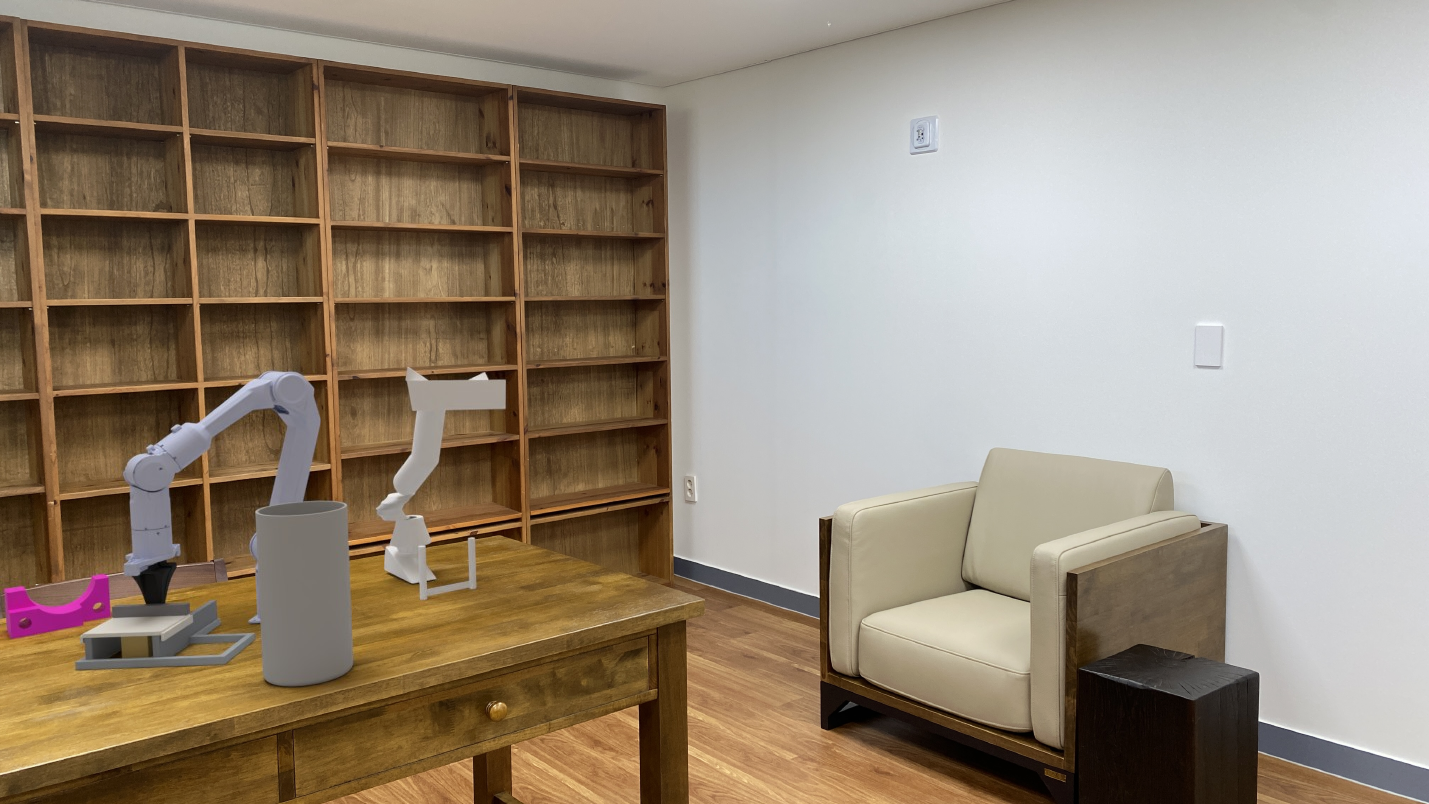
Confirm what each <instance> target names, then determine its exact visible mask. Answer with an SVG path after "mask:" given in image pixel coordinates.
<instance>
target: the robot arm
mask: <svg viewBox="0 0 1429 804" xmlns="http://www.w3.org/2000/svg"><path fill="white" fill-rule="evenodd" d="M314 395H315V388H314V386H313V385H312V384H311V383H310V382H309V381H308V379H307V378H306V377H305V376H304V375H303V374H301V373H299V372H296V371H278V370H268V371H265V372H263V373H262V374H260V376H258V377H257V378H255V379H252V380H250V381H248V382H247V383H246V384H245V385H244V386H242V387H241V388H239V390H237V391H236V392H235V393H234V394H233V395H231V396H230V397H229V398H227V400H225V401H224V402H223V403H221V404H220V405H219V406H218V407H216V408H215V409H213V410H212V411H211V412H210V413H209V414H207V415H206V416H205V417H204V418H202V419H201V420H200V421H199V422H196V423H193V422H185V423H183V424H182V425H180V424H175V425H174V426H172V427H171V428H170V431H172V432H171V433H169V434H168V435H166V436H165V437H163V439H161V440H160V441H159V442H157V443H155V444H154V445H153V444H149V445H148V446H147V447H145V450H146V451H147V453H139V454H137V455H135V456H133V457H132V458H131V459H129V460H128V462H127V463H126V464H127V465H125V468H124V471H123V472H122V476H123V478H124V480H125V482H126V483H127V484H128V485H129V497H130V498H129V509H130V512H129V513H130V529H131V547H132V549H131V550H132V552H131V553H128V554H126V555H125V560H127V562H126V563H123V576H124V577H131V578H132V579H133V580H134V581H135V583H136V584H137V586H138V588H139V589H140V593H141V595H142V597H143V599H144V604H162V603H166V601H167V594H168V591H169V586H170V583H171V581H172V577H173V575H174V573H175V571H176V569H177V567H178V563H177V562H176V561H174V562H173V561H169V562H168V560H171V559H173V558H174V557H179V556H181V544H180V543H174V544H173V533H172V531H173V529H172V526H173V525H172V512H171V511H172V510H171V497H170V486H171V484H172V483H173V480H174V477H175V474H178V473H180V472H181V471H182V470H183V469H185V468H186V467H187V466H189V465H190V464H191V463H193V462H194V461H196V460H197V459H198V458H200V456H202V455H204V454H205V453H206V452H208V450H210V448H211V445H212V439H213V438H214V437H216V436H217V435H218V434H219V433H221V432H222V431H224V430H226V429H228V427H230V426H231V425H232V424H235V423H236V422H237V421H239V420H240V419H241V418H243V417H244V416H246V415H247V414H249V413H250V412H252V411H257V410H266V409H271V410H273V411H275V413H276V414H277V415H278V416H279V418H280V419H281V420H282V421H283V422H284V424H285V425H286V432H285V435H284V436H285V437H284V441H283V443H282V444H283V445H282V449H281V454H280V458H279V462H278V467H277V472H276V475H275V479H274V483H273V488H272V493H271V496H270V497H271V498H270V501H269V506H272V505H278V504H284V503H293V502H304V498H305V494H306V488H307V484H308V480H309V476H310V471H311V467H312V462H313V458H314V453H315V450H316V446H317V445H316V444H317V440H318V435H319V432H320V431H319V430H320V428H321V416H320V413H319V409H318V406H317V402H316V399H315V396H314ZM249 552H250V555H251V556H252V558H254V559H255V560H256V564H255V567H254V568H255V569H254V570H255V591H256V592H255V593H256V613H257V614H255V615H254V616H253V617H252V618H250V619H249V620H248V624H261V623H260V601H259V580H258V558H257V537H256V532H255V533H254V534H253V536H252V537H251V539H250V541H249Z"/></svg>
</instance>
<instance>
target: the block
mask: <svg viewBox="0 0 1429 804" xmlns="http://www.w3.org/2000/svg"><path fill="white" fill-rule="evenodd" d="M121 647H122V650H121V658H148V657H153V642H152V636H127V637H121Z"/></svg>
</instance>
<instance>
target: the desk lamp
mask: <svg viewBox="0 0 1429 804" xmlns="http://www.w3.org/2000/svg"><path fill="white" fill-rule="evenodd" d="M406 368H407V369H406V373H405V375H406V376H405V381H406V383H407V384H406V385H407V388H408V395H409V400H410V406H411V411H413V412H416V414H415V422H414V429H413V439H412V448H411V453H410V455H409V456H408V458H407V459H406V461H405V462H404V464H402V465H401V467H400V468H399V469H398V471H397V473H396V474H395V475H394V477H393V479H392V480H393V483H392V484H393V488H394V490H395V492H393V493H389V494H387V497H386V498H385V499H384V500H382V501H381V502H380V504H379V505H378V506H377V507H376V508H375V510H376V515H377V516H378V517H381V520H382V521H384V522H385V521H386V522H395V525H394V528H393V531H392V536H391V539H390V543H389V545H388V546H385V552H384V565H383V566H384V567H383V570H385V571H386V572H389V573H390V574H392V575H394V576H396V577H398V578H400V579H403V581H406V582H407V583H411V584H417V583H419V599H420V601H424V600H428V596H434V595H438V594H443V593H449V592H452V591H453V592H454V591H458V590H463V589H469V590H475V589H477V565H476V563H477V562H476V538H475V537H468V538H467V545H468V546H467V547H468V548H467V549H468V551H467V553H468V580H467V581H461V582H456V583H452V584H447V585H440V586H436V587H431V588H428V582H427V581H432V580H436V579H437V577H436V576H435V574H434V573H433V572H432V570H431V569H430V568H429V566H428V565H427V552H426V551H427V550H426V545H429V544H431V543H432V539H431V537H430V534H429V531H428V528H427V526H426V523H425V519H424V516H423V515H419V514H411V515H410V514H409V515H408V514H405V512H404V511H403V508H404V506H405V504H406V503H408V502H409V501H410V499H411V498H412V497H413V496H415V495H416V492H417V491H418V489H419V488H420V487H421V486H422V484H423V483H424V482H425V481H426V479H427V478H428V477H429V476H430V474H432V472H433V471H434V469H435V468H436V467H437V465H438V464H439V461H440V454H441V447H442V439H443V432H444V425H445V418H446V411H468V410H469V411H470V410H473V411H474V410H506V408H507V407H506V405H507V404H506V401H507V400H506V399H507V398H506V397H507V396H506V395H507V394H506V392H507V390H506V388H507V384H506V383H507V382H506V379H489V377H488V375H487V374H486V372H485V371H484V372H481V373H480V374H478V375H476V376H474V377H471V378H469V379H453V380H450V379H449V380H447V379H445V380H444V379H443V380H441V379H440V380H438V379H435V380H432V379H431V380H429V379H427V378H426V377H424V376H423V375H421V374H420V373H418V372H417V371H415V370H414V369H413V368H411V367H410V366H407V367H406Z"/></svg>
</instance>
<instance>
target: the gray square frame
mask: <svg viewBox="0 0 1429 804" xmlns="http://www.w3.org/2000/svg"><path fill="white" fill-rule="evenodd" d="M217 603H218V602H217V599H210V600H209V601H207V602H205V603H204V604H202V605H200V606H198V607H197V608H196V609H194V610H192V611H190V615H193V623H191V624H190V625H188V626H186V627H185V628H183V629H182V630H180V631H179V632H177V633H176V634H174V635H173V636H171V637H169V638H168V639H166V640H165V641H161V635H156V636H152V642H153V657H148V658H122V657H121V658H110V657H112V656H114V655H115V654H117V653H119V652H121V651H122V647H121V637H98V638H85V639H84V640H85V643H84V653H85V654H84V655H85V656H83V657H82V658H79V659H78V660H77V661H74V667H75V671H78V670H79V671H80V670H84V671H85V670H104V669H105V670H106V669H107V670H108V669H133V668H134V669H137V668H157V667H158V668H161V667H162V668H163V667H186V666H187V667H189V666H190V667H192V666H193V667H194V666H213V665H214V666H216V665H218V666H219V665H226V664H227V663H228V662H230V661H231V660H232V659H233V658H235V657H236V656H237V655H238V654H240V652H242V651H243V650H245V648H246V647H248V646H249V645H250V644H252V643H253V642H254V641H255V640H256V633H255V632H250V633H249V632H247V633H245V632H242V633H216V634H215V633H214V634H213V633H211V634H209V633H210V632H212V631H214V629H216V628H218V627H219V626H221V622H222V621H221V618H218V604H217ZM221 643H222V644H223V643H234V644H232V645H231V646H230V647H229V648H227V649H226V650H225V651H224V652H222V653H221V654H209V655H205V654H204V655H203V654H202V655H180V656H179V655H178V656H176V654H178V653H179V652H182V650H184V649H185V648H187V647H188V646H190V645H200V644H221Z"/></svg>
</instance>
